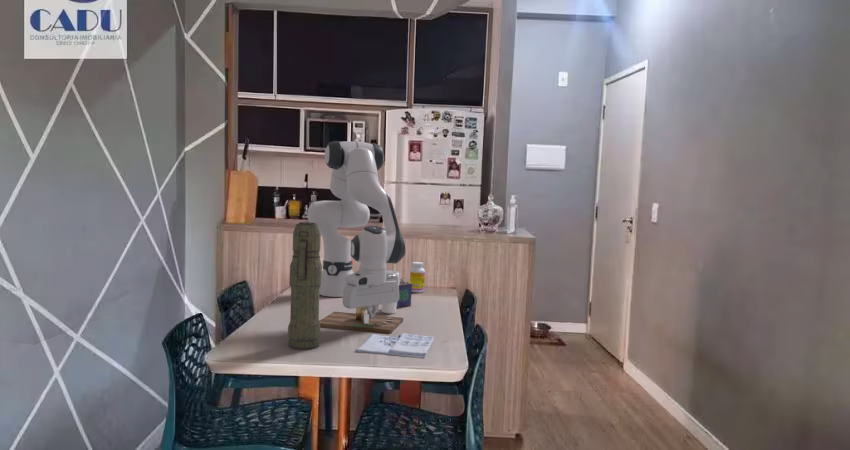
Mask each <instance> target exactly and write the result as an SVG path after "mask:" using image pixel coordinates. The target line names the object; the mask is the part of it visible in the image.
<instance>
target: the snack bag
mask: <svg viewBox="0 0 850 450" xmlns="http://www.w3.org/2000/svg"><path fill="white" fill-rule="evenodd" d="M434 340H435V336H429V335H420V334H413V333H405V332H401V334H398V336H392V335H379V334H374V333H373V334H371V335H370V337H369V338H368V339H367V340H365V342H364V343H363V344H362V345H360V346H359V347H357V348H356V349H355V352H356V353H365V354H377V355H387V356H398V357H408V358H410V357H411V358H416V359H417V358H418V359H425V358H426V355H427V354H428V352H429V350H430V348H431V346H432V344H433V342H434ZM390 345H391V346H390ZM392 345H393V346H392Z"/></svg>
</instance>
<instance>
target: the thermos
mask: <svg viewBox="0 0 850 450" xmlns="http://www.w3.org/2000/svg"><path fill="white" fill-rule="evenodd" d="M321 238H322V235H321V233H320V229H319V226H318V225H317V224H316V223H310V221H309V222H306V221H305V222H298V223H296V224H295V227H294V230H293V233H292V252H293V253H292V256H291V257H292V259H291V263H290V264H289V265H290V266H289V286H290V313H289V314H290V316H289V317H290V319H289V320H290V321H289V323H288V326H287V338H288V343H287V344H288V348H290V349H293V350H298V351H308V350H309V351H310V350H314V349H317V348H319V347H320V337H321V327H320V322H319V319H320V315H319V313H320V294H319V290H320V286H321V279H322V271H323V270H322V269H323V264H322V261H321V256H320V251H321V240H322V239H321Z"/></svg>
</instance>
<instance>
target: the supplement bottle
mask: <svg viewBox="0 0 850 450" xmlns="http://www.w3.org/2000/svg"><path fill="white" fill-rule="evenodd" d="M423 266H424V262H422V261H421V262H420V261H412V267H411V268H410V269H409V270H410V271H409V283H412V292H411V293H415V294H416V293H423V292H425V285H426V283H425V282H426V281H425V280H426V279H425V278H426V277H425V276H426V270H425V269H424V268H423Z"/></svg>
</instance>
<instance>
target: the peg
mask: <svg viewBox="0 0 850 450" xmlns="http://www.w3.org/2000/svg"><path fill="white" fill-rule="evenodd" d="M355 314H356V320H359V321H363V323H364V324H369V314H368V312H367V311H366V309H365V307H360V308H355Z"/></svg>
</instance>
